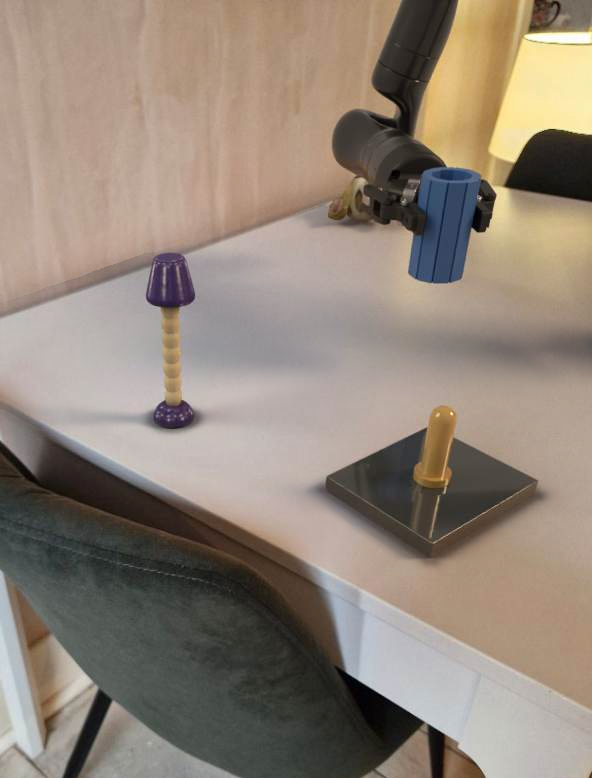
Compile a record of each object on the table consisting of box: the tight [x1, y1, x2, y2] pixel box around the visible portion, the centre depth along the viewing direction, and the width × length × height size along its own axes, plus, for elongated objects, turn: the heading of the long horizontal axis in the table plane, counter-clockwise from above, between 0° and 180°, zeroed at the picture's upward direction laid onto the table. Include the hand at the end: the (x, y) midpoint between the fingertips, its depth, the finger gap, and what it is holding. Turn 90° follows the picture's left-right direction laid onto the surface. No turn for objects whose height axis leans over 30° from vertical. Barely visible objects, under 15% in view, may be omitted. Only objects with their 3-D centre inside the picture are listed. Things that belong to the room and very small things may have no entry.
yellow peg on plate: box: [324, 404, 539, 558], centre depth 65 cm, size 14×12×9 cm
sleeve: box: [407, 166, 482, 285], centre depth 78 cm, size 6×6×10 cm
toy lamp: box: [145, 252, 196, 429], centre depth 74 cm, size 5×5×17 cm
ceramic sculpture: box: [327, 174, 380, 224], centre depth 130 cm, size 11×9×15 cm
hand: (452, 224), depth 76 cm, fingers closed on sleeve, 5 cm apart
